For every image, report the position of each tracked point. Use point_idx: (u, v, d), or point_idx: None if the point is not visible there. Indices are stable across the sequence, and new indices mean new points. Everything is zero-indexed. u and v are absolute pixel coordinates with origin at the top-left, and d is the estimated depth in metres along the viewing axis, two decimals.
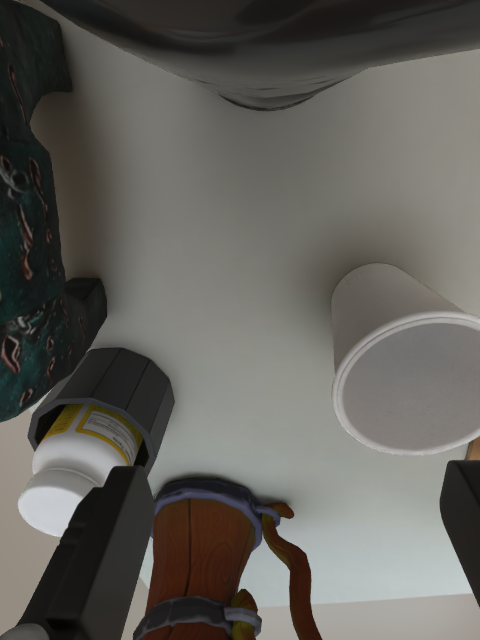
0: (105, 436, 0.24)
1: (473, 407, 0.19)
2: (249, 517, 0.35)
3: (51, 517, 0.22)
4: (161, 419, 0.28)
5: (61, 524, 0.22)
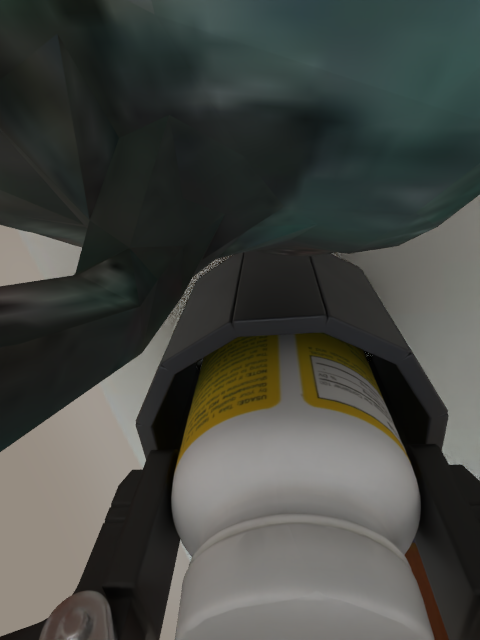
0: (377, 419, 0.09)
1: None
2: None
3: None
4: None
5: None
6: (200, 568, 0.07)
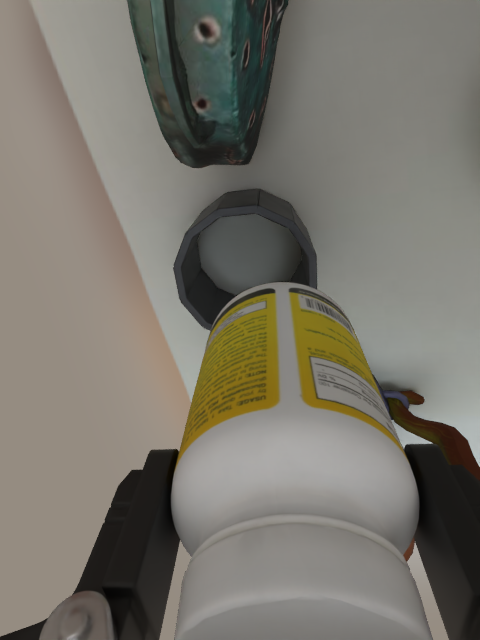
0: (376, 419, 0.09)
1: None
2: None
3: None
4: None
5: None
6: (199, 568, 0.07)
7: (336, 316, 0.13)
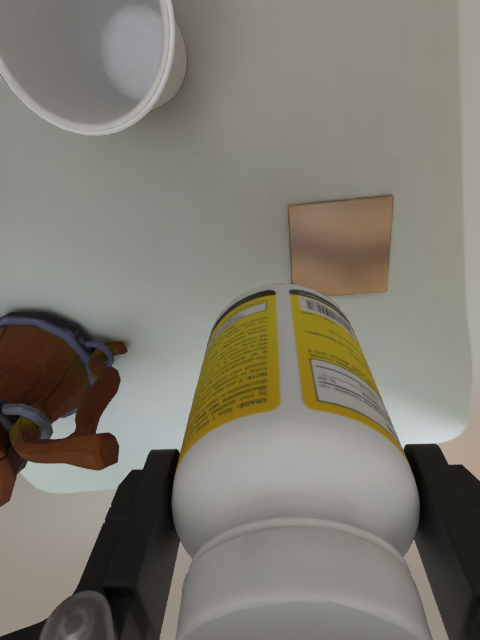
0: (377, 422, 0.09)
1: None
2: (75, 349, 0.33)
3: None
4: None
5: None
6: (200, 571, 0.07)
7: (336, 318, 0.13)
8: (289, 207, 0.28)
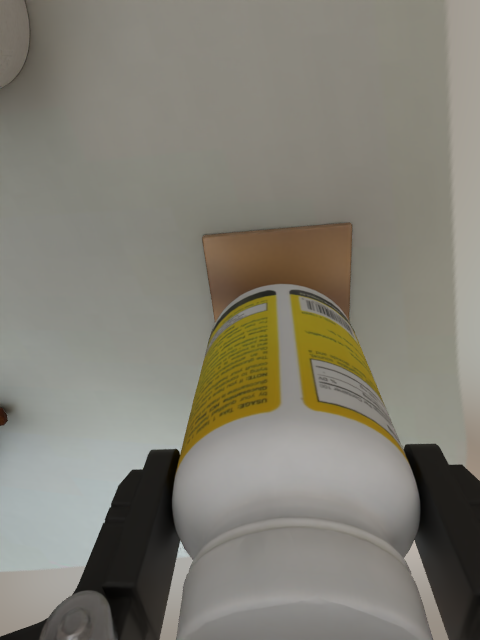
0: (377, 422, 0.09)
1: None
2: None
3: None
4: None
5: None
6: (201, 571, 0.07)
7: (337, 318, 0.13)
8: (203, 238, 0.19)
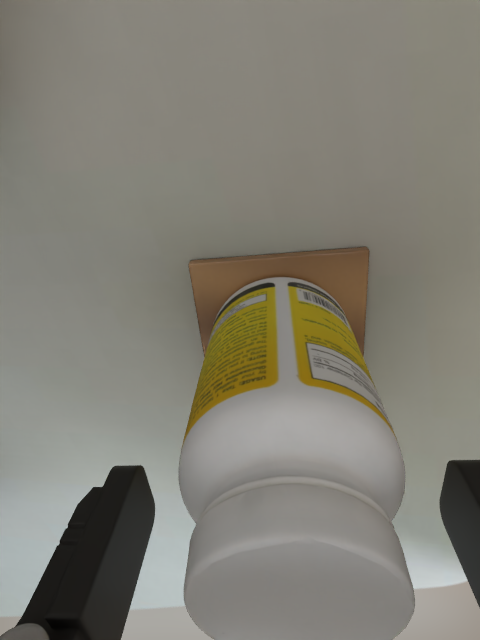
0: (366, 398, 0.10)
1: None
2: None
3: (273, 617, 0.08)
4: None
5: (293, 633, 0.08)
6: (206, 524, 0.08)
7: (332, 308, 0.14)
8: (190, 265, 0.16)
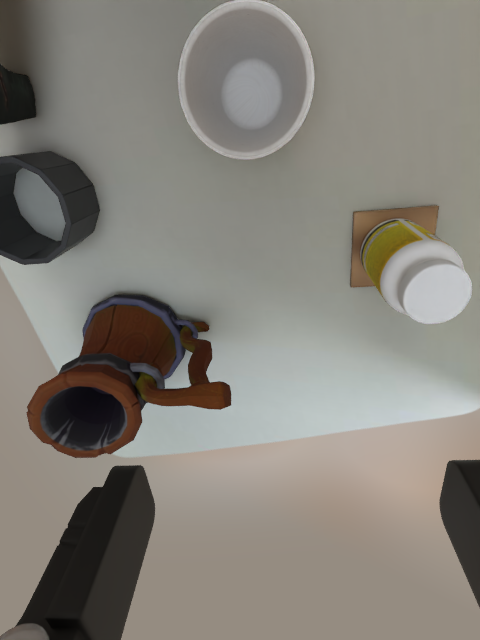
0: None
1: (294, 116, 0.24)
2: (168, 325, 0.40)
3: (429, 300, 0.27)
4: (80, 202, 0.33)
5: (433, 308, 0.27)
6: (410, 272, 0.27)
7: None
8: (355, 213, 0.35)
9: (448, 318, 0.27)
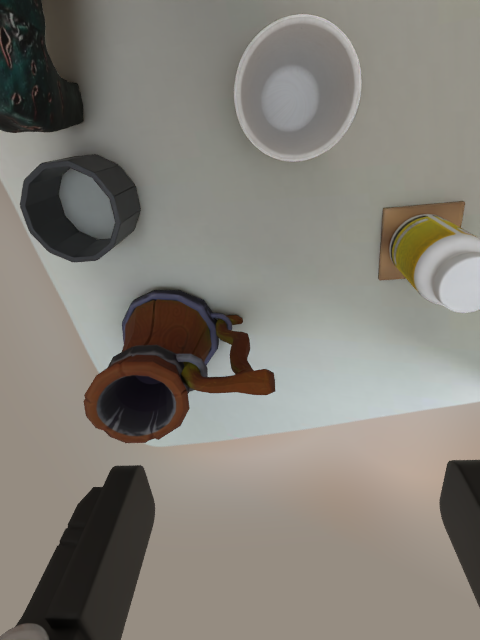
0: None
1: (340, 120, 0.26)
2: (204, 319, 0.42)
3: (463, 290, 0.29)
4: (126, 203, 0.35)
5: (467, 298, 0.29)
6: (446, 264, 0.29)
7: None
8: (385, 209, 0.37)
9: None
